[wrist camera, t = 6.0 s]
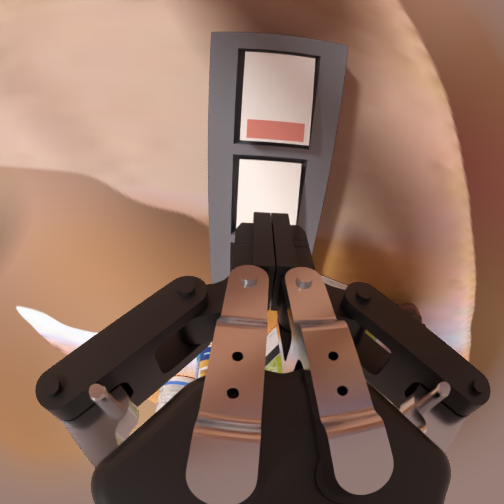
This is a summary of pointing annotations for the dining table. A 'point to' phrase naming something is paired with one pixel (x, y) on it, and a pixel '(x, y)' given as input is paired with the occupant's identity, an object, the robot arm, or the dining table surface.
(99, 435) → the robot arm
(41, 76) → the dining table surface
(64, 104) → the dining table surface
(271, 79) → the plate
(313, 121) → the strip housing
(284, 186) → the rocker
